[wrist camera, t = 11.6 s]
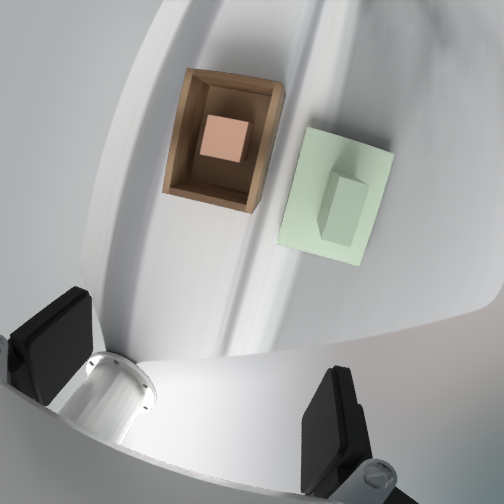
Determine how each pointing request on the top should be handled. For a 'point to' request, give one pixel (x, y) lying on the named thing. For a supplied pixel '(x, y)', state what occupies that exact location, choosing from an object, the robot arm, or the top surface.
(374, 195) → the mint green stepped block
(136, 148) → the top surface
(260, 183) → the box
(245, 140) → the block
